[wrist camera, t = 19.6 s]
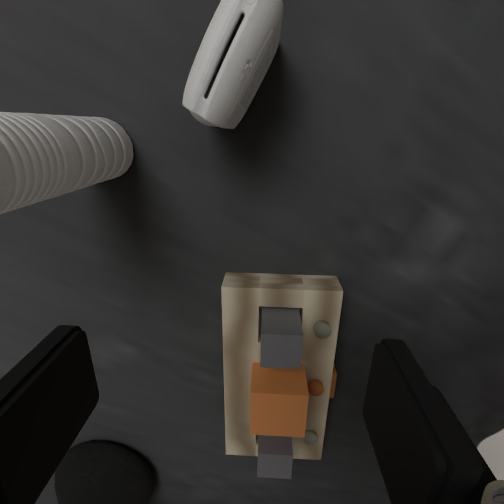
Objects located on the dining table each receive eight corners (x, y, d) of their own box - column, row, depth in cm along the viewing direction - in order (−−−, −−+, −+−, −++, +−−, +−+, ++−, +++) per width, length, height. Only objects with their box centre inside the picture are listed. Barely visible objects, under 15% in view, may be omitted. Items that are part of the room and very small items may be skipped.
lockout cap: (304, 364, 40) (308, 395, 35) (300, 403, 43) (304, 437, 38) (252, 362, 40) (250, 392, 36) (252, 401, 43) (249, 434, 38)
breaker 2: (290, 418, 44) (293, 455, 39) (288, 440, 46) (291, 479, 41) (259, 416, 45) (257, 453, 40) (258, 438, 46) (257, 476, 41)
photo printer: (247, 12, 30) (233, -59, 19) (286, 37, 31) (295, -16, 19) (200, 114, 34) (164, 107, 22) (235, 135, 34) (218, 139, 23)
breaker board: (341, 276, 40) (350, 294, 35) (320, 435, 50) (325, 465, 46) (225, 272, 40) (220, 290, 36) (229, 430, 51) (225, 459, 46)
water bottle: (95, 103, 34) (-286, 51, 11) (145, 145, 35) (-97, 179, 12) (58, 167, 37) (-310, 235, 13) (106, 203, 38) (-154, 323, 15)
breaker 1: (298, 307, 38) (303, 335, 33) (296, 338, 40) (300, 369, 34) (262, 306, 38) (261, 333, 33) (261, 336, 40) (260, 367, 35)
